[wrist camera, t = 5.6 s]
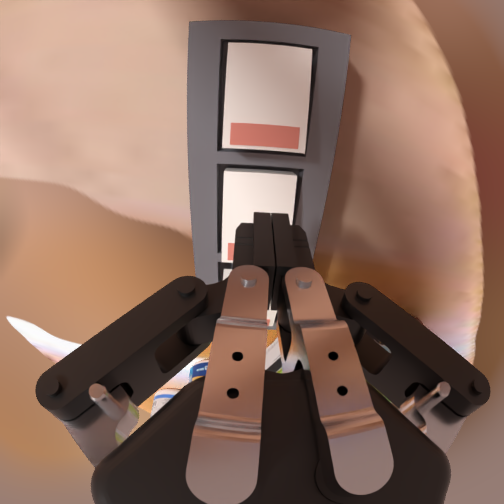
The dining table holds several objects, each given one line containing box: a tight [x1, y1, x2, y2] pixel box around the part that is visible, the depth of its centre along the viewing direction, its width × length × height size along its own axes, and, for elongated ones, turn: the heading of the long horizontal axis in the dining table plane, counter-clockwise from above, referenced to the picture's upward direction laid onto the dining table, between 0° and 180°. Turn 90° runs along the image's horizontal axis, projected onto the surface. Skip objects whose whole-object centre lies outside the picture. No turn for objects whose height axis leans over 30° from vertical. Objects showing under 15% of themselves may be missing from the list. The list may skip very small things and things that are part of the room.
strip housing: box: [187, 20, 351, 330], centre depth 21 cm, size 25×9×4 cm, turn 177°
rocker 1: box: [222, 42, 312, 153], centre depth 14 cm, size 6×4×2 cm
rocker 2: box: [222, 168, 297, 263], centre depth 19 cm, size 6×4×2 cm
